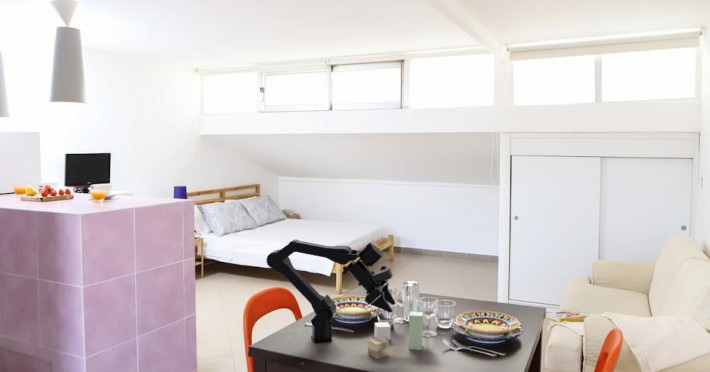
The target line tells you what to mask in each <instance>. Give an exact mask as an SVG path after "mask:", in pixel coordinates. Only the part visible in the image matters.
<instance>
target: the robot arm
mask: <svg viewBox="0 0 710 372" xmlns="http://www.w3.org/2000/svg"><path fill="white" fill-rule="evenodd" d="M294 253H299V254H303V255H309V256H310V255H311V256H316V257H319V258H326V259H328V260H329V261H331V262H334V263H335V264H338V265H341V266H342V265H343V266H342V275H346V274H347V273H349V274H350V275H351V276H352V277H353V278H354V280H356V281H357V282H358V283H357V285H358V286H359V287H362V288H363V289H364V290H365V291H366V292H365V293H366V295H365V297H364V302H366V304H367V305H368V306H374V307H376V308H378V309H380V310H383V311H385V312H388V313H389V314H391V313H393V312H394V311H393V310H394V309H392V306H390V304H391V305H393V306H394V305H396V301H395V299H394V297H393V295H392V294H391V292H390V290H389V284H390V283H389V280H391V279H392V278H393V276H394V275H393V274H392V273H393V272H392V269H391V268H390V267H389V266H386V265H385V264H384V265H382V266H381V267H380V270H378V271H376V272H375V271H374V270H370V269H369V268H368V267H372V268H373V266H375V265H376V263H378V262H379V261H380V260H381V259H382V258H383V257H384V254H383V253H382V250H381V249H380V248H379V247H377V246H376V245H374V244H373V243H371V242H369V243H367V244H366V246H365V247H364V248H363V249H361V250H357V249H354V248H353V249H352V248H351V247H350V246H349V245H325V244H319V243H313V242H308V241H303V240H299V239H292V240H291V241H289V242H288V244H287V245H285V246H283V248H281V249H276V250H274V251H272V252H271V253H269V254H268V255H267V256H266V265H267V266H268V267H270V268H271V269H272V270H273V271H274V272H276V273H278V274H280V275H282V276H284V277H285V278H286V280H288V281H289V283H291V285H292V286H293V287H294V288H295V289H296V290H297V291H298V292H299V293H300V294H301V295H302V296H303V298H305V299H306V301H308V302H309V304H310V305H311V307H312V310H313V312H314V314H315V315H314V316H313V318H311V320H310V322H311V325H312V327H311V332H312V333H311V336H310V338H311V339H312V341H313V343H315V344H318V343H329V342H332V341H333V326H332V323H331V320H332V319H333V317H334V316H335V314H336V313H337V310H338V309H337V305H336V304H335V303H336V301H334V300H333V299H332V298H331V297H330V296H329V295H328V294H326V295H325V296H323V295H321V294H320V293H319V292H318V291H317V289H315V288H314V286H313V285H311V284H310V283H309V282H308V281H307V280H306V279H305V277H304V276H302V274H301V273H300V272H299V271H298V270H297V269H296V268H295V267H294V266H293V263H292V261H291V259H290V256H291V255H292V254H294Z"/></svg>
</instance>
